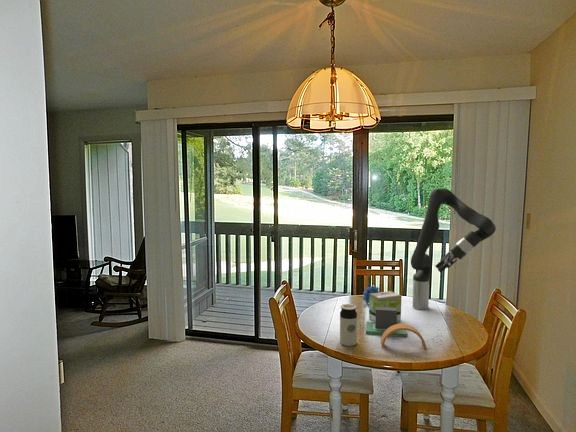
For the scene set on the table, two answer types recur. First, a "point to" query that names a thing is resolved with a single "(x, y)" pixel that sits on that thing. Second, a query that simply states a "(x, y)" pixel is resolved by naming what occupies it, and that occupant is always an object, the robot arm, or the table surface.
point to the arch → (401, 327)
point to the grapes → (370, 292)
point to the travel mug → (348, 325)
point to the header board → (382, 330)
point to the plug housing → (385, 317)
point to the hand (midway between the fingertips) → (437, 269)
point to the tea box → (384, 303)
